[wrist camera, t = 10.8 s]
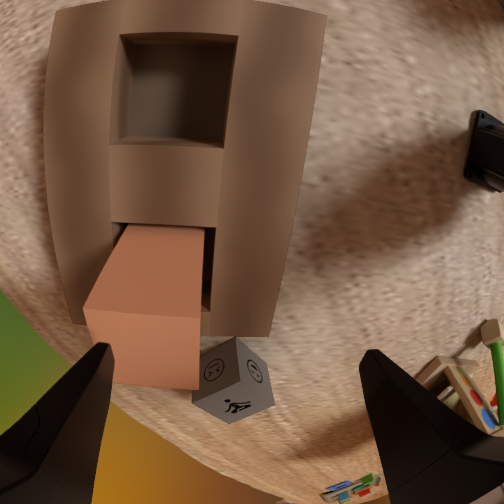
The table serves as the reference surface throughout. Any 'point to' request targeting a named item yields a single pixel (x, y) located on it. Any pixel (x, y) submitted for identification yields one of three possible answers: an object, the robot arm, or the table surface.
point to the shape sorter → (352, 489)
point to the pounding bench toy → (470, 383)
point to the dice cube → (232, 382)
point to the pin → (151, 305)
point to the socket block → (181, 140)
